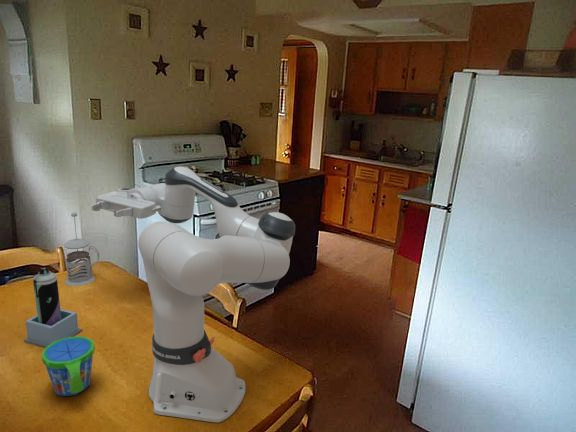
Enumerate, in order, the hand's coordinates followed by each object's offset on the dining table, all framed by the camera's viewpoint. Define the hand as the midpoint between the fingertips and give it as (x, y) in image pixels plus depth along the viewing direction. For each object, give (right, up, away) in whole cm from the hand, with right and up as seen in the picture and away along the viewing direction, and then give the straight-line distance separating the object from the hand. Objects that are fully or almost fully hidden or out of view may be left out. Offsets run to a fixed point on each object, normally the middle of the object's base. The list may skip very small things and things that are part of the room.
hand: (104, 211), depth 122 cm
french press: (-20, -24, +27) cm, 41 cm away
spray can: (-11, -34, -7) cm, 37 cm away
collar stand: (-11, -35, -6) cm, 37 cm away
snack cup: (+4, -41, -25) cm, 48 cm away
